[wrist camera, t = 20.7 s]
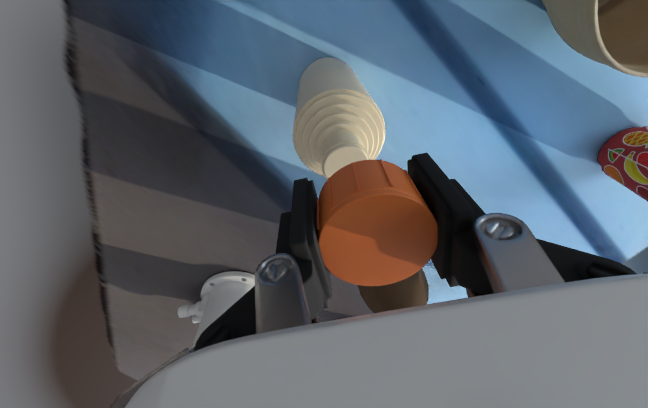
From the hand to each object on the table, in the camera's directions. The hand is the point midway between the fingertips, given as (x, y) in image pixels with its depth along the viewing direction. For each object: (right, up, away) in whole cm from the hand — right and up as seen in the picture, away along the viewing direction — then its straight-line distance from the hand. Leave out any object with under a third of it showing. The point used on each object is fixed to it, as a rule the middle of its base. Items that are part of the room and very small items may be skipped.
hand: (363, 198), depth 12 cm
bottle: (-1, +12, +19) cm, 23 cm away
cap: (0, -1, -2) cm, 3 cm away
